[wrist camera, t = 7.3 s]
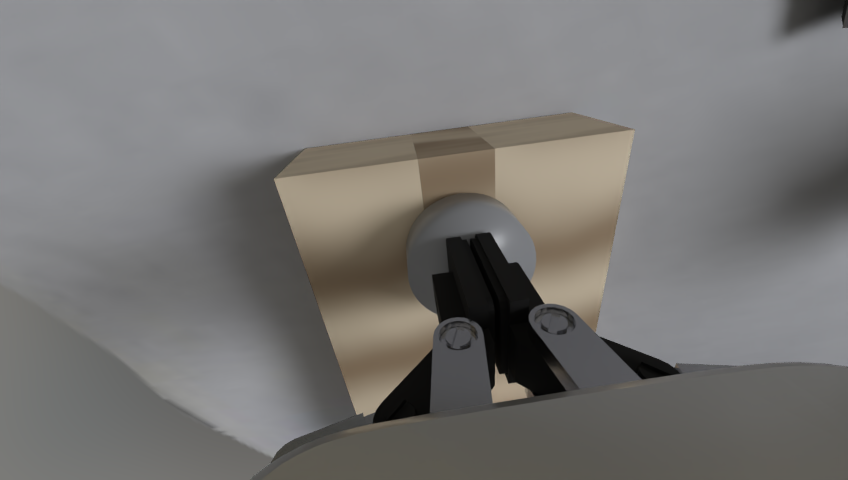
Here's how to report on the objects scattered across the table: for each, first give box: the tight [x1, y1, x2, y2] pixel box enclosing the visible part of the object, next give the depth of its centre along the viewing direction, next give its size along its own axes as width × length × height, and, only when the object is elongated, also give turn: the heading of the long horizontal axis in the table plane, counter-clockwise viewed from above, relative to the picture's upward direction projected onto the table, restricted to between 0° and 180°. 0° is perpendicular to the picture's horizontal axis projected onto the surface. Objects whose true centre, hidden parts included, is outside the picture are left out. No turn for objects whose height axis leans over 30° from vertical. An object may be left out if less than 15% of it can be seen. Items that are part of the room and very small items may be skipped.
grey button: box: [406, 193, 536, 314], centre depth 15 cm, size 5×5×6 cm
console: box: [274, 113, 635, 416], centre depth 20 cm, size 22×14×5 cm, turn 7°
